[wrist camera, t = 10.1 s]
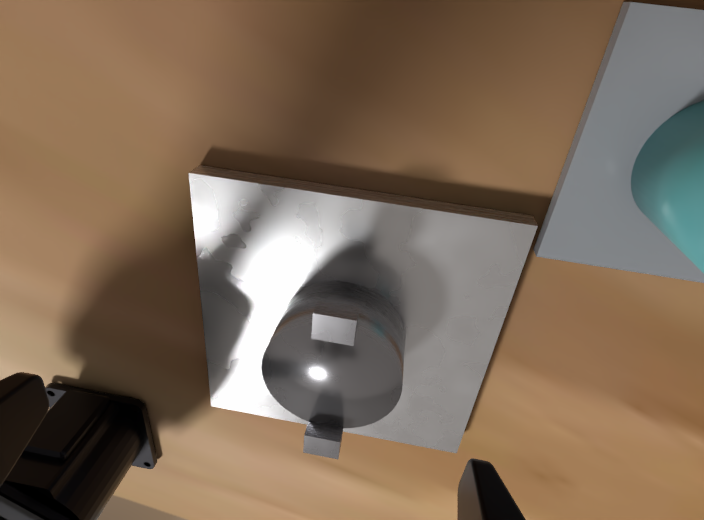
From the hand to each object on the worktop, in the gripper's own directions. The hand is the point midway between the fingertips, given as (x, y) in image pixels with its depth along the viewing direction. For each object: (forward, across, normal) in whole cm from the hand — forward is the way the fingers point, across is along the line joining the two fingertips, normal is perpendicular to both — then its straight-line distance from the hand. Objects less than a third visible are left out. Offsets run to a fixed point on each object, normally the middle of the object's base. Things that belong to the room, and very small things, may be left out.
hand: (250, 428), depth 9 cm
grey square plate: (+12, -1, +6) cm, 13 cm away
